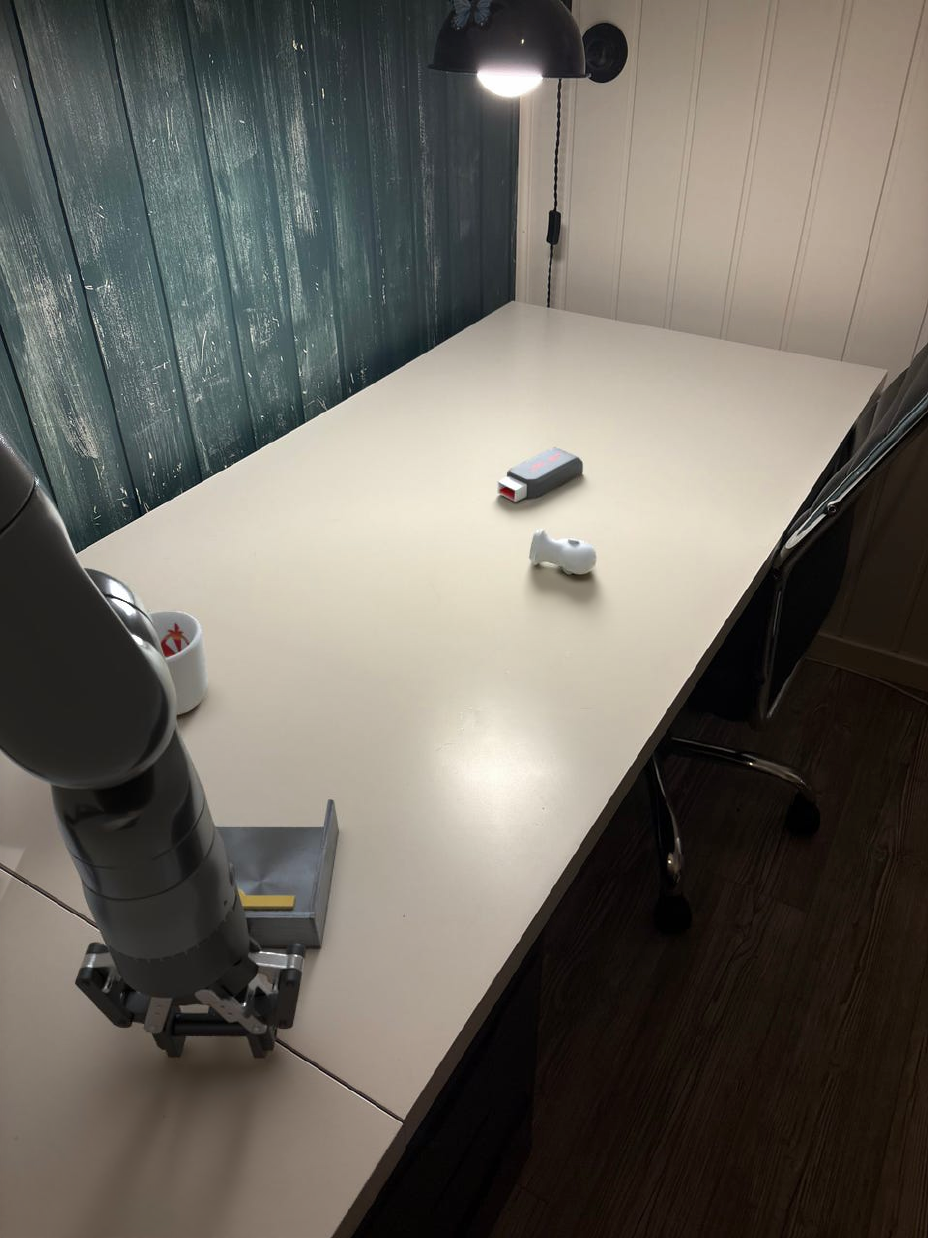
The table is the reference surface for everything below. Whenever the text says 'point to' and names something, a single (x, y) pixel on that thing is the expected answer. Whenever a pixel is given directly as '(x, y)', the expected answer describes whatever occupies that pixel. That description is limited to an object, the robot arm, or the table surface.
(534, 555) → the smooth white sculpture
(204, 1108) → the table surface
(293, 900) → the yellow spoon
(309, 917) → the metal dustpan with handle
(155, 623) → the cup
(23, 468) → the robot arm
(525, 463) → the usb drive
